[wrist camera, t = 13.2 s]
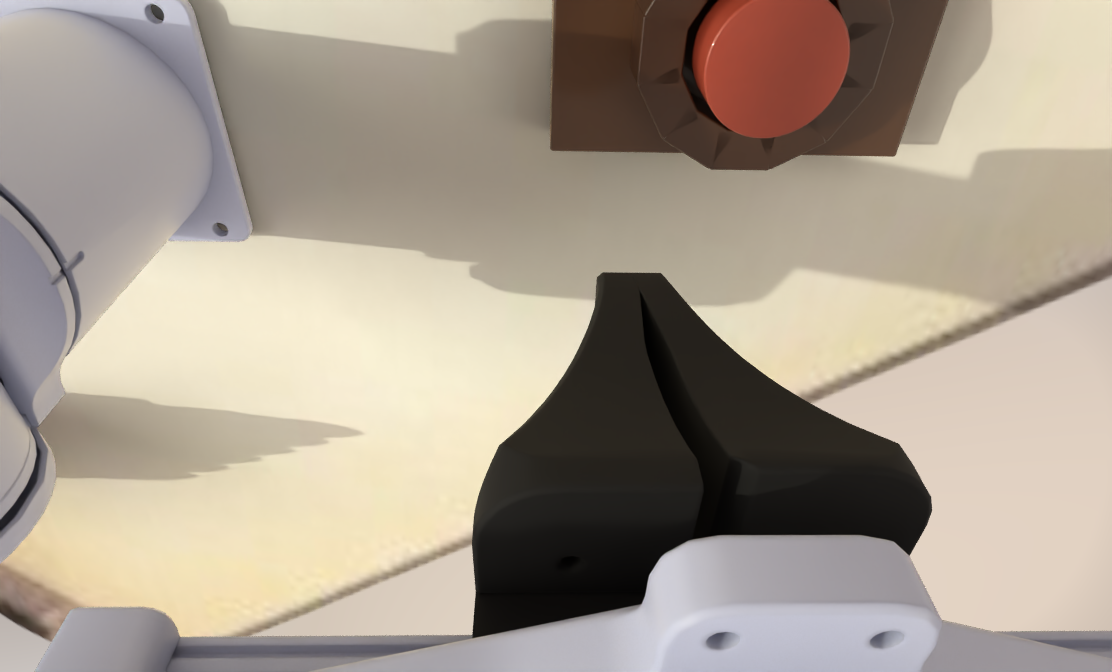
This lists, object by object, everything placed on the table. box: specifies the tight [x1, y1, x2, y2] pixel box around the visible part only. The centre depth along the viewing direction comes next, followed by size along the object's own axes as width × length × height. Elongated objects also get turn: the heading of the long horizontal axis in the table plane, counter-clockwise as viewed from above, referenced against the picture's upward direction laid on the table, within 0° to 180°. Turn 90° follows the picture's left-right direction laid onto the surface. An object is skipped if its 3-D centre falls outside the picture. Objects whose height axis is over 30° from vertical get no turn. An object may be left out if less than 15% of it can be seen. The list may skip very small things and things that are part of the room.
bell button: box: [692, 0, 850, 138], centre depth 18 cm, size 4×4×2 cm
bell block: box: [550, 0, 948, 170], centre depth 19 cm, size 11×7×4 cm, turn 88°
